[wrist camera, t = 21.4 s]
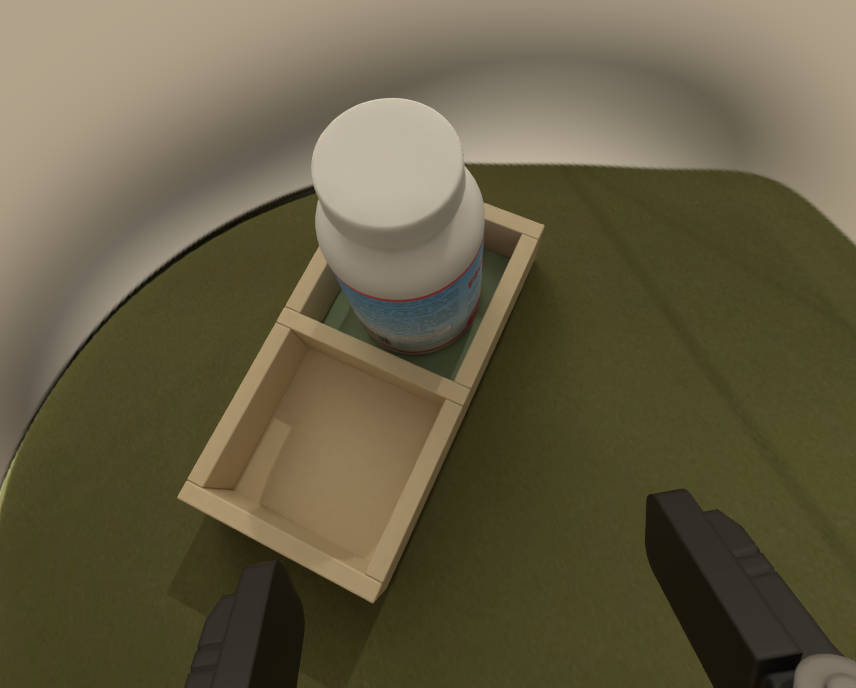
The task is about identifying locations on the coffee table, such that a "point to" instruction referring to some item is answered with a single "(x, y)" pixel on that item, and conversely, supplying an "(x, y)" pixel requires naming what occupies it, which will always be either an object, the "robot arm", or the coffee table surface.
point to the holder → (350, 423)
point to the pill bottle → (400, 223)
